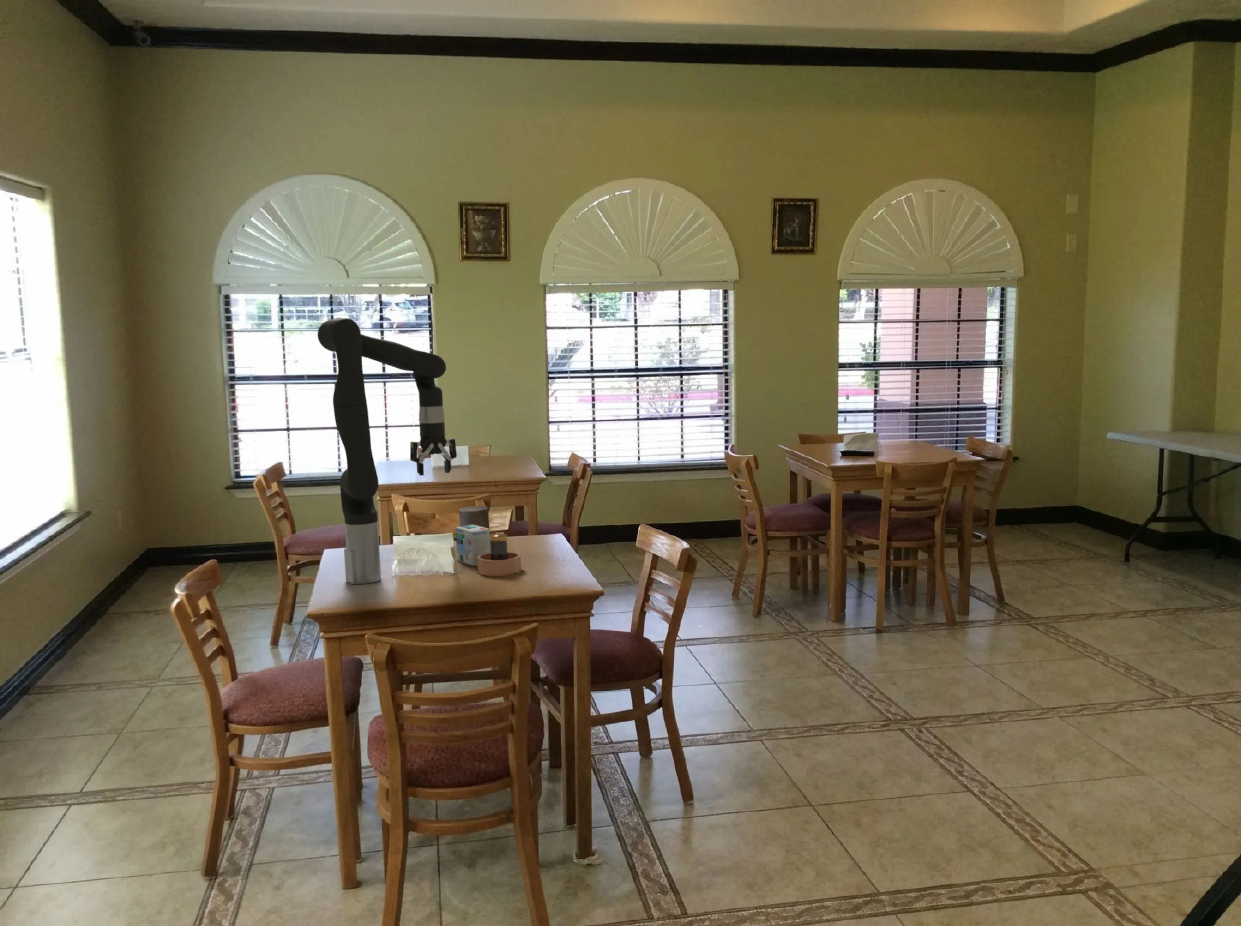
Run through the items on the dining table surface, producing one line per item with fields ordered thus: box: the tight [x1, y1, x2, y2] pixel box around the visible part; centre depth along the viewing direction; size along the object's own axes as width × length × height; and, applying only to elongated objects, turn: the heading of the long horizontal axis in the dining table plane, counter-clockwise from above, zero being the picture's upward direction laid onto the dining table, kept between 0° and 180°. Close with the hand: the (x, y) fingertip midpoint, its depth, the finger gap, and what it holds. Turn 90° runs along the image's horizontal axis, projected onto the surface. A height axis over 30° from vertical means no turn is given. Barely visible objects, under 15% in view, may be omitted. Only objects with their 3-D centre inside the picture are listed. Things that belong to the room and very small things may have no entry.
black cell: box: [490, 533, 508, 560], centre depth 301 cm, size 5×5×10 cm
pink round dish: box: [477, 551, 522, 577], centre depth 301 cm, size 13×13×4 cm
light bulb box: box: [455, 525, 491, 567], centre depth 315 cm, size 11×7×11 cm, turn 38°
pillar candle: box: [458, 505, 490, 529], centre depth 334 cm, size 10×10×15 cm
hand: (434, 474), depth 310 cm, fingers open, 8 cm apart
